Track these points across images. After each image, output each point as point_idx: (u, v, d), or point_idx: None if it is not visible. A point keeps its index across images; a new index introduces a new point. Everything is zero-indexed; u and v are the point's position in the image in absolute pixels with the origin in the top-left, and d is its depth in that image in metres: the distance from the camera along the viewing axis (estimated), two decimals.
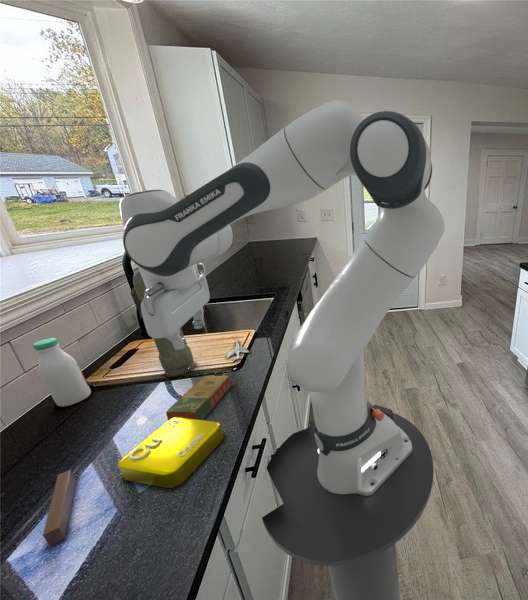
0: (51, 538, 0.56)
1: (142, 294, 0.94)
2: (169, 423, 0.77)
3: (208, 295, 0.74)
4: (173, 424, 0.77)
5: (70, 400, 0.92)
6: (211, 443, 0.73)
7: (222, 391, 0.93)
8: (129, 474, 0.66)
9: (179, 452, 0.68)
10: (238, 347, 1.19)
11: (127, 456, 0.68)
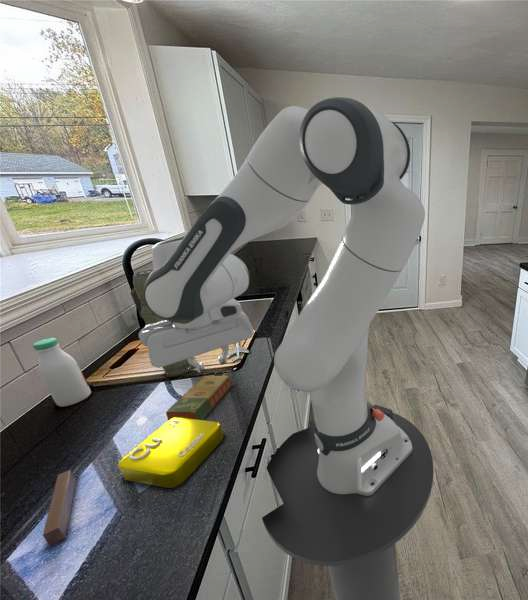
0: (51, 538, 0.56)
1: (142, 294, 0.94)
2: (169, 423, 0.77)
3: (249, 333, 0.74)
4: (173, 424, 0.77)
5: (70, 400, 0.92)
6: (211, 443, 0.73)
7: (222, 391, 0.93)
8: (129, 474, 0.66)
9: (179, 452, 0.68)
10: (238, 347, 1.19)
11: (127, 456, 0.68)
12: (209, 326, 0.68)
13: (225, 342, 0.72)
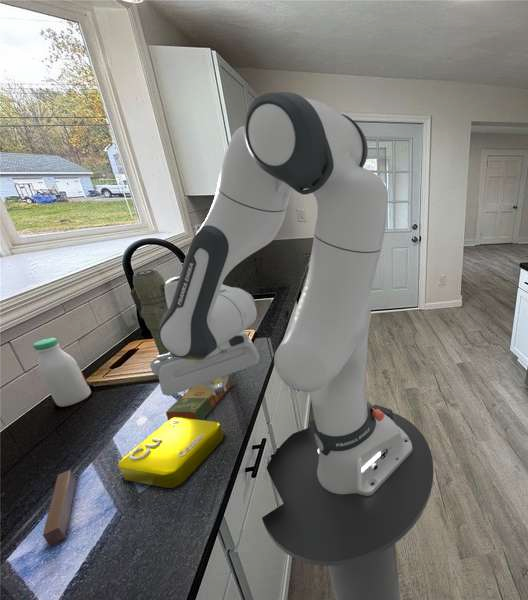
0: (51, 538, 0.56)
1: (142, 294, 0.94)
2: (169, 423, 0.77)
3: (255, 360, 0.77)
4: (173, 424, 0.77)
5: (70, 400, 0.92)
6: (211, 443, 0.73)
7: None
8: (129, 474, 0.66)
9: (179, 452, 0.68)
10: None
11: (127, 456, 0.68)
12: (217, 355, 0.71)
13: (232, 369, 0.74)
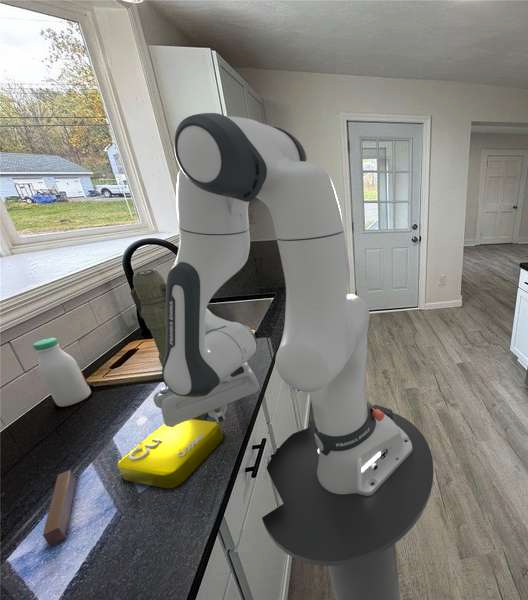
0: (51, 538, 0.56)
1: (142, 294, 0.94)
2: None
3: (255, 388, 0.79)
4: None
5: (70, 400, 0.92)
6: (211, 443, 0.73)
7: None
8: (128, 474, 0.66)
9: (178, 452, 0.69)
10: None
11: (126, 456, 0.68)
12: (218, 386, 0.73)
13: (233, 398, 0.76)
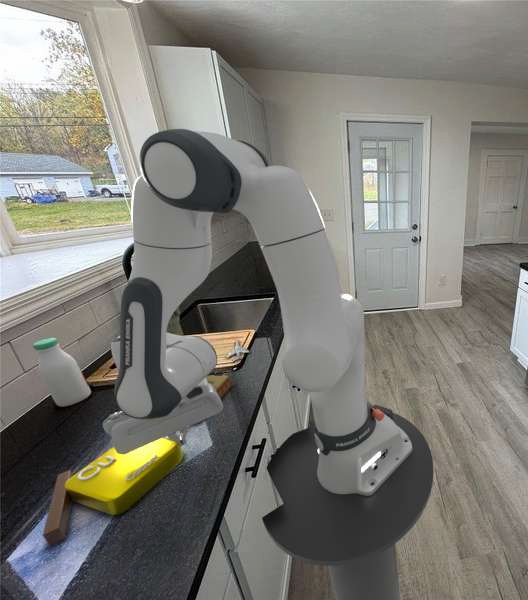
0: (51, 538, 0.56)
1: None
2: None
3: (218, 408, 0.74)
4: None
5: (70, 400, 0.92)
6: (167, 465, 0.68)
7: (222, 391, 0.93)
8: (74, 496, 0.62)
9: (128, 475, 0.64)
10: (238, 347, 1.19)
11: (76, 475, 0.64)
12: (174, 409, 0.68)
13: (193, 420, 0.72)
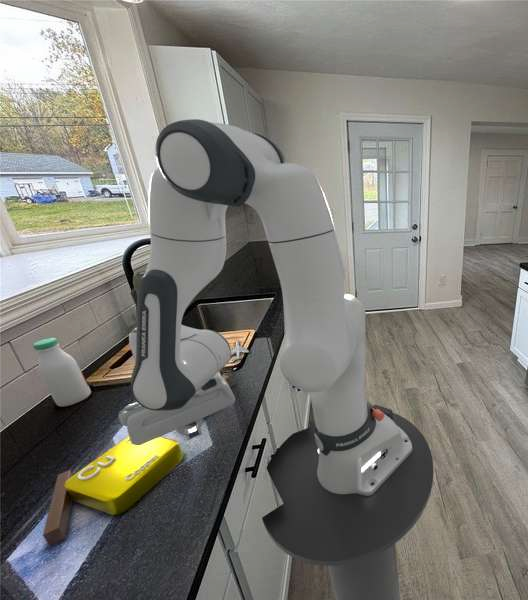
0: (51, 538, 0.56)
1: None
2: (129, 439, 0.73)
3: (231, 400, 0.75)
4: None
5: (70, 400, 0.92)
6: (166, 464, 0.68)
7: None
8: (74, 495, 0.62)
9: (128, 475, 0.64)
10: (238, 347, 1.19)
11: (76, 475, 0.64)
12: (189, 401, 0.69)
13: (206, 412, 0.73)
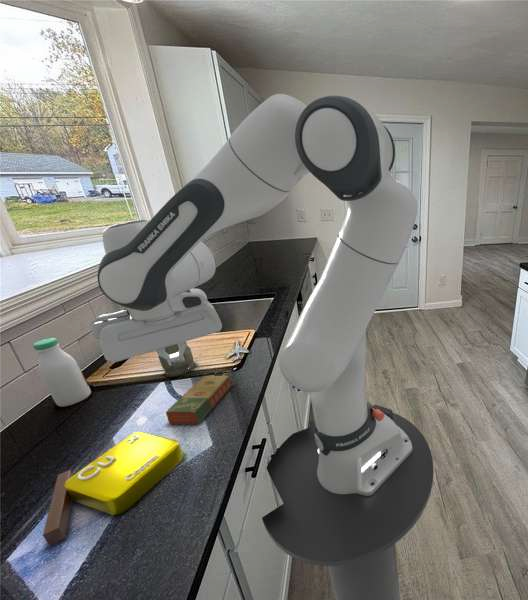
0: (51, 538, 0.56)
1: None
2: (129, 438, 0.73)
3: (217, 326, 0.70)
4: (133, 440, 0.72)
5: (70, 400, 0.92)
6: (167, 464, 0.68)
7: (222, 391, 0.93)
8: (74, 495, 0.62)
9: (128, 475, 0.64)
10: (238, 347, 1.19)
11: (76, 475, 0.64)
12: (170, 318, 0.63)
13: (189, 336, 0.67)
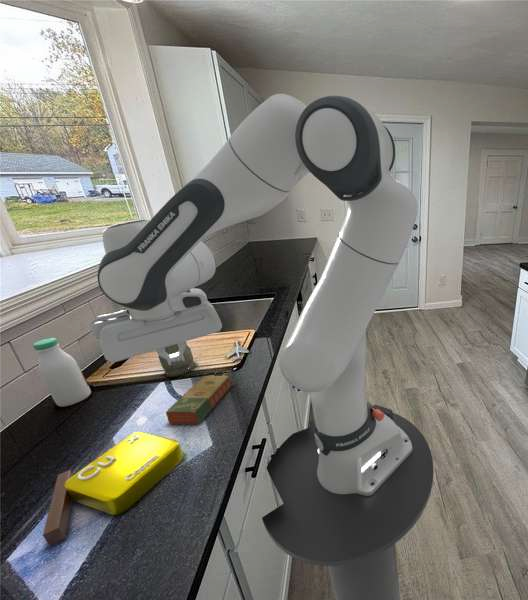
0: (51, 538, 0.56)
1: None
2: (129, 438, 0.73)
3: (217, 326, 0.70)
4: (133, 440, 0.72)
5: (70, 400, 0.92)
6: (167, 464, 0.68)
7: (222, 391, 0.93)
8: (74, 495, 0.62)
9: (128, 475, 0.64)
10: (238, 347, 1.19)
11: (76, 475, 0.64)
12: (170, 318, 0.63)
13: (189, 335, 0.67)
